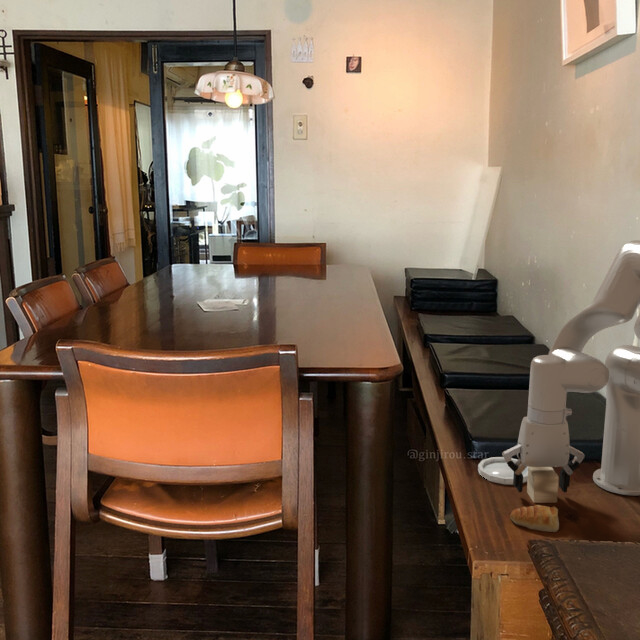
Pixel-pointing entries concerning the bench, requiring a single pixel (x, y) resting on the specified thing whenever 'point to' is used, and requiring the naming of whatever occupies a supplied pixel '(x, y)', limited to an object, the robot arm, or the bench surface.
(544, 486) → the maple block
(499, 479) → the dish
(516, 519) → the pastry
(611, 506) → the bench surface
